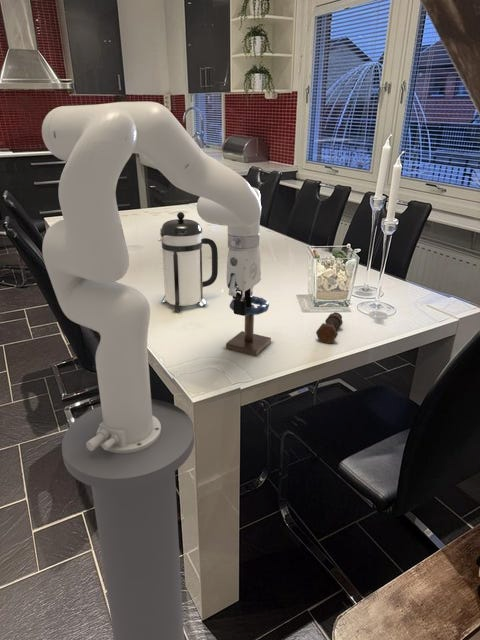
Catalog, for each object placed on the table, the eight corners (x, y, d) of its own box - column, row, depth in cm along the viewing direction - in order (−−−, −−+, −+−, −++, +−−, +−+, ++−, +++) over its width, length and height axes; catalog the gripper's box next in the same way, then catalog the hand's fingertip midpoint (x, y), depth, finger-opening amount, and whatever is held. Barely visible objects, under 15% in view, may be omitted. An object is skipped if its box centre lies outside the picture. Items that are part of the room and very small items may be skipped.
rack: (256, 355, 120) (257, 314, 115) (226, 348, 124) (225, 308, 119) (270, 342, 127) (272, 303, 123) (241, 335, 131) (242, 297, 127)
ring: (258, 319, 115) (259, 311, 114) (222, 311, 119) (222, 304, 119) (275, 306, 123) (275, 299, 122) (240, 299, 128) (240, 292, 127)
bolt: (338, 328, 141) (327, 347, 128) (324, 318, 141) (312, 336, 128) (349, 314, 138) (339, 332, 125) (335, 304, 138) (324, 321, 125)
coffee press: (200, 315, 144) (197, 218, 132) (153, 309, 148) (146, 214, 137) (218, 297, 159) (218, 208, 148) (175, 292, 164) (171, 205, 152)
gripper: (241, 250, 103) (240, 326, 110) (271, 236, 116) (269, 305, 123) (212, 246, 106) (213, 320, 113) (244, 232, 119) (244, 300, 126)
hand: (242, 311), depth 118 cm, fingers closed on ring, 2 cm apart
